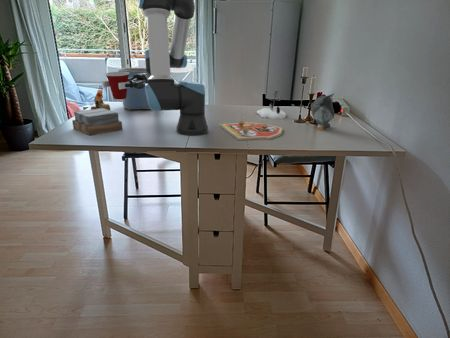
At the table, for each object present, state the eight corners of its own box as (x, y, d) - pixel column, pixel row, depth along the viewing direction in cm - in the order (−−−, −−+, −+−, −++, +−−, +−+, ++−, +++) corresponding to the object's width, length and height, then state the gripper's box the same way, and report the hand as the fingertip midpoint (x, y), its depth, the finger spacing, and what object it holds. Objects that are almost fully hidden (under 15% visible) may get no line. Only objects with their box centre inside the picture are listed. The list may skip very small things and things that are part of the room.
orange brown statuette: (105, 112, 177) (102, 88, 172) (118, 119, 162) (115, 93, 157) (90, 114, 173) (87, 89, 167) (102, 121, 158) (99, 94, 152)
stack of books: (122, 129, 145) (121, 112, 142) (89, 135, 133) (87, 117, 130) (105, 123, 154) (103, 107, 151) (73, 128, 143) (70, 111, 140)
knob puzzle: (217, 126, 159) (217, 118, 157) (267, 123, 169) (268, 115, 167) (239, 142, 134) (240, 132, 132) (296, 138, 144) (298, 129, 142)
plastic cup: (102, 98, 144) (99, 72, 139) (120, 95, 152) (118, 70, 148) (118, 101, 139) (116, 74, 134) (136, 98, 147) (134, 72, 143)
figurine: (254, 110, 197) (257, 84, 189) (282, 111, 198) (286, 86, 190) (259, 120, 179) (262, 92, 172) (289, 121, 180) (293, 94, 173)
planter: (159, 110, 188) (158, 71, 179) (121, 111, 182) (117, 70, 173) (157, 104, 208) (155, 68, 199) (122, 104, 202) (119, 67, 193)
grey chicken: (300, 127, 162) (305, 93, 155) (316, 123, 171) (321, 91, 164) (324, 133, 152) (330, 97, 145) (339, 129, 162) (346, 94, 155)
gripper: (159, 90, 156) (130, 95, 137) (126, 86, 163) (94, 91, 144) (159, 75, 153) (129, 78, 134) (125, 71, 161) (92, 75, 141)
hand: (111, 85), depth 139 cm, fingers closed on plastic cup, 9 cm apart
